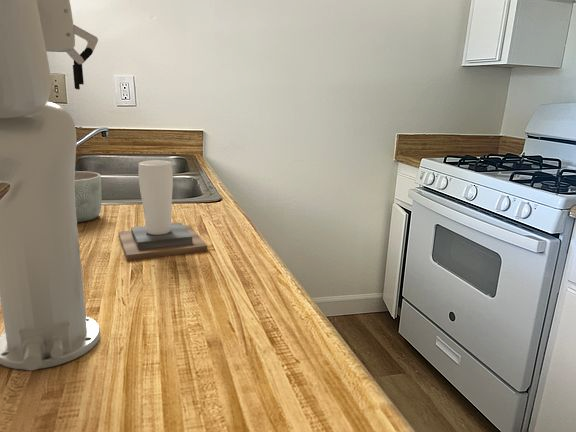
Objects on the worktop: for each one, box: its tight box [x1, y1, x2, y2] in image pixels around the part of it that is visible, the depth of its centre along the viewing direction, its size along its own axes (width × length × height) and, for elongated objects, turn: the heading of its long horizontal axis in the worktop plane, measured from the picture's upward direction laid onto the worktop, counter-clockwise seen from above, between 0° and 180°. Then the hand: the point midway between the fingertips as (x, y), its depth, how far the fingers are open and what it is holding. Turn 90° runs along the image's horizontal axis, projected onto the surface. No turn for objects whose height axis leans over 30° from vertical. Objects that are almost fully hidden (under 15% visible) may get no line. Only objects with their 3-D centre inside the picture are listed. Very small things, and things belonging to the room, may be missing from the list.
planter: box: [75, 170, 102, 223], centre depth 119 cm, size 12×12×11 cm
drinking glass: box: [137, 159, 174, 235], centre depth 100 cm, size 7×7×15 cm
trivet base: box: [117, 222, 208, 262], centre depth 103 cm, size 16×16×3 cm
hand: (45, 88), depth 78 cm, fingers open, 9 cm apart
